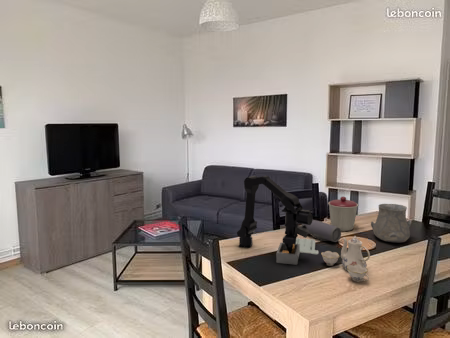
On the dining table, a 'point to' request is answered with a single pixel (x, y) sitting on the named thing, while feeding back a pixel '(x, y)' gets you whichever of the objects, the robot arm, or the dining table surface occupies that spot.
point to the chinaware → (350, 258)
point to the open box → (287, 255)
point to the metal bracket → (307, 246)
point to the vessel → (392, 223)
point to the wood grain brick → (292, 250)
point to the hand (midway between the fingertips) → (290, 251)
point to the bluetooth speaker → (324, 231)
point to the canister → (343, 213)
